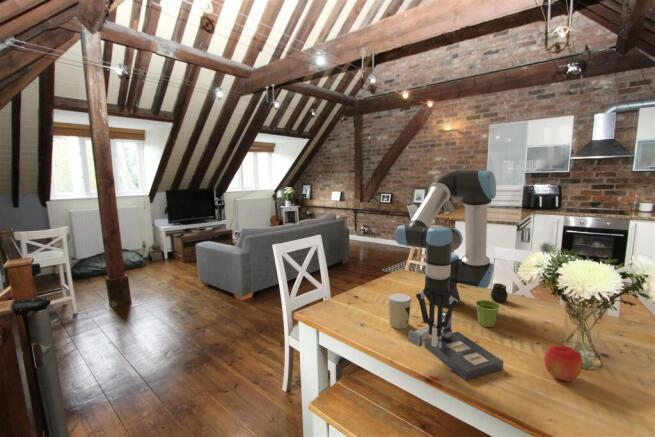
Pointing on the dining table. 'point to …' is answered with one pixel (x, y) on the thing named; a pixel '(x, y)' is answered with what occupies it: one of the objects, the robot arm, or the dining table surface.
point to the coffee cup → (399, 310)
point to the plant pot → (487, 312)
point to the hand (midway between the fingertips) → (434, 344)
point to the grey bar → (426, 332)
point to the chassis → (464, 355)
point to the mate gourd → (499, 292)
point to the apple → (563, 362)
